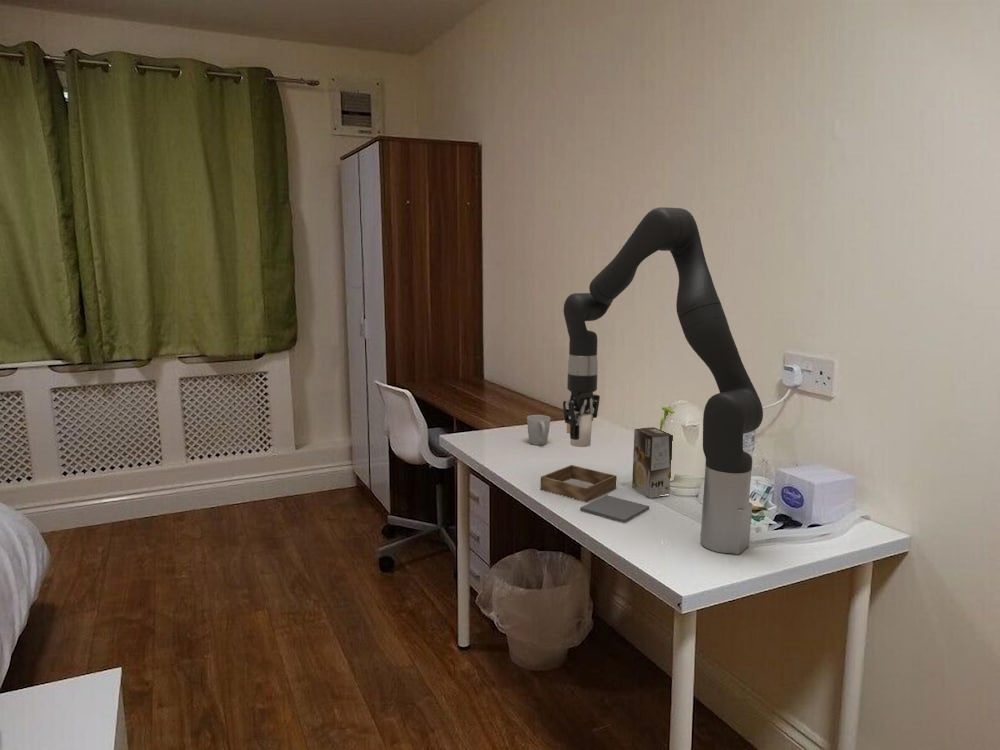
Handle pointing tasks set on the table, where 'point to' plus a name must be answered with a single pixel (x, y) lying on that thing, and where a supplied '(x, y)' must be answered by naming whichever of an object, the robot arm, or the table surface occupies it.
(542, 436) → the cup
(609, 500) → the mat
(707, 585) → the table surface
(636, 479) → the coffee box
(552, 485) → the holder
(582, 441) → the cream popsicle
